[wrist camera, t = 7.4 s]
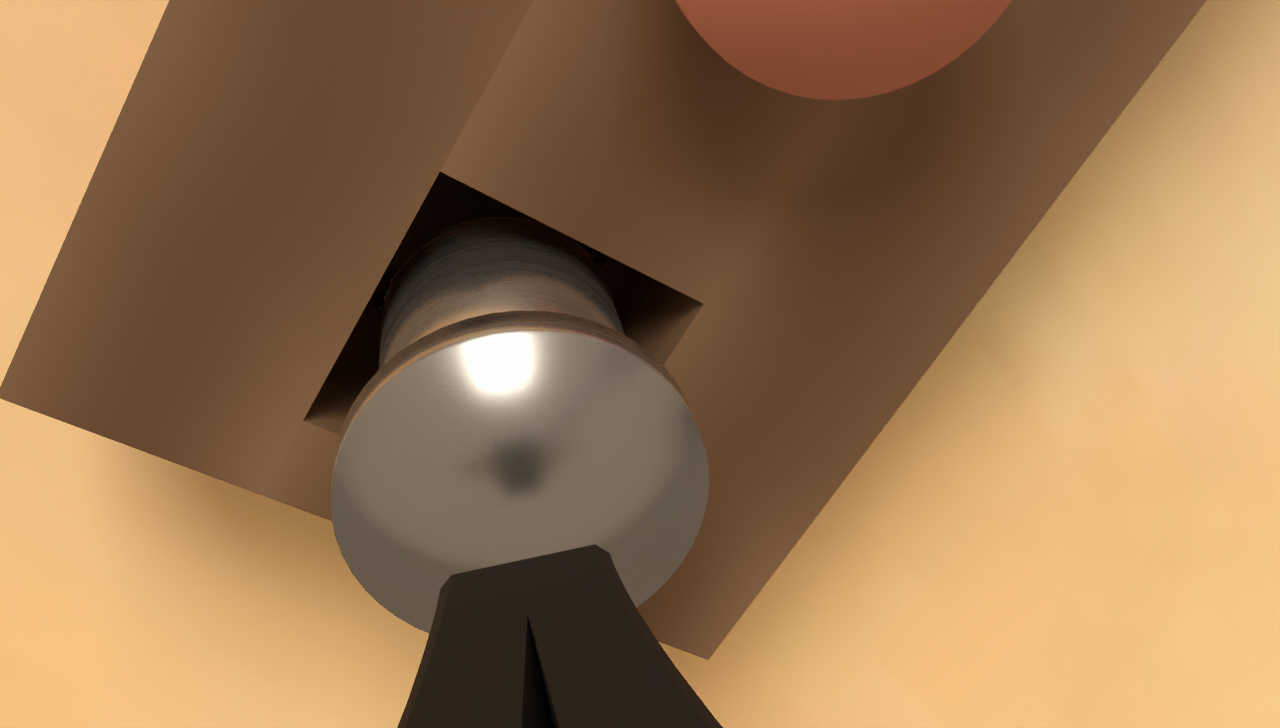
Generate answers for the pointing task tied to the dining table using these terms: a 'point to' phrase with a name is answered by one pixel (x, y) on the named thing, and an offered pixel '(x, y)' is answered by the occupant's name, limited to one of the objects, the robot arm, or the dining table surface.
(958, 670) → the dining table surface
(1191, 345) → the dining table surface
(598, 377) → the grey plug
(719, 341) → the socket block
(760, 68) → the terracotta plug
